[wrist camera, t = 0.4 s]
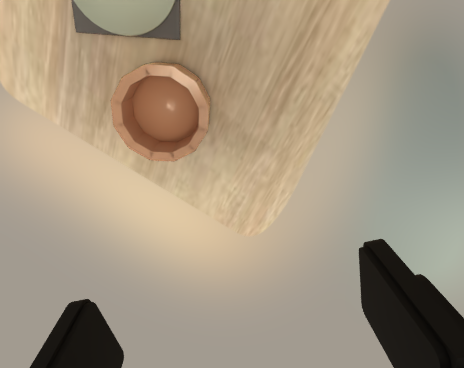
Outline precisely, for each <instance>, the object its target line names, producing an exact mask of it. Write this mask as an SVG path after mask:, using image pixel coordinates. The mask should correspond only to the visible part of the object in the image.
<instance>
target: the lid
mask: <svg viewBox="0 0 464 368" xmlns="http://www.w3.org/2000/svg"><path fill="white" fill-rule="evenodd" d="M74 2H75V3H76V5H77V6H78V8H79V9H80V10H81V11H82V12H83V14H84V15H85V16H86V17H88V18H89V19H90V20H91V21H92V22H93V23H95V24H96V25H97V26H99V27H101V28H103V29H104V30H107V31H109V32H112V33H115V34H119V35H125V36H138V35H143V34H146V33H149V32H151V31H153V30H155V29H156V28H158V27H159V26H160V25H161V24H162V23H163V22H164V21H165V20H166V19H167V18H168V16H169V15H170V13H171V11H172V9H173V7H174V5H175V2H176V0H74Z"/></svg>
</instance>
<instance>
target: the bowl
mask: <svg viewBox="0 0 464 368" xmlns="http://www.w3.org/2000/svg"><path fill="white" fill-rule="evenodd" d="M198 78H199V77H197V76H196V75H194V74H193V73H191V72H190V71H188V70H187V69H186V68H184V67H183V66H181V65H180V64H171V63H149V64H144V65H142V66H141V67H139V68H137V69H135V70H134V71H132V72H130V73H128V74H127V75H125V76H123V77H122V78H121V80H120V82H119V84H118V86H117V89H116V91H115V93H114V95H113V97H112V99H111V107H112V116H113V125H114V127H115V129H116V130H117V132H118V133H119V135H120V136H121V138H122V139H123V141H124V142H125V144H126V145H127V147H129V148H130V149H131V150H133V151H135V152H137V153H139V154H140V155H142V156H144V157H146V158H147V159H149V160H150V159H151V160H158V161H176V160H178V159H180V158H182V157H184V156H186V155H188V154H190V153H192V152H194V151H195V150H196V149H197V147H198V146H199V144H200V142H201V141H202V139H203V138H204V136H205V135H206V133H207V131H208V126H209V115H210V98H209V96H208V94H207V92H206V90H205V88H204V86H203V84H202V82H201V80H200V78H199V79H198Z"/></svg>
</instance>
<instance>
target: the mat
mask: <svg viewBox="0 0 464 368" xmlns="http://www.w3.org/2000/svg"><path fill="white" fill-rule="evenodd" d="M72 7H73V14H74V21H75V28H76V32H79V33H93V34H107V35H119V34H115V33H112V32H109V31H107V30H104V29H103V28H101V27H99V26H97V25H96V24H95V23H93V22H92V21H91V20H90V19H89V18H88V17H86V16H85V15H84V14H83V12H82V11H81V10H80V9H79V8H78V6H77V5H76V3H75V2H74V0H72ZM121 36H125V35H121ZM134 37H148V38H162V39H176V40H180V0H176V2H175V5H174V7H173V9H172V11H171V13H170V15H169V16H168V18H167V19H166V20H165V21H164V22H163V23H162V24H161V25H160V26H159V27H158V28H156V29H155V30H153V31H151V32H149V33H146V34H143V35H138V36H134Z"/></svg>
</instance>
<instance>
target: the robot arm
mask: <svg viewBox="0 0 464 368" xmlns="http://www.w3.org/2000/svg"><path fill="white" fill-rule="evenodd" d="M359 264H360V282H361V303H362V308H363V312H364V314H365V316H366V318H367V320H368V322H369V323H370V325H371V327H372V329H373V331H374V333H375V334H376V336H377V338H378V340H379V342H380V344H381V345H382V347H383V349H384V351H385V352H386V354H387V356H388V358H389V360H390V362H391V363H392V365H393V367H394V368H464V318H463V317H462V316H461V315H460V314H459V313H458V311H457V310H456V309H455V308H454V307H453V306H452V305H451V304H450V303H449V302H448V301H447V300H446V298H445V297H444V296H443V295H442V294H441V293H440V292H439V291H438V290H437V289H436V288H435V286H434V285H433V284H432V283H431V282H430V281H429V280H428V279H427V278H426V277H425V276H423V275H421V274H419V275H414V274H413V273H412V271H411V270H410V269H409V268H408V267H407V266H406V264H405V263H404V262H403V261H402V260H401V259H400V258H399V256H398V255H397V254H396V253H395V252H394V251H393V250H392V248H391V247H390V246H389V245H388V244H387V243H386V242H385V241H384V240H383V239H378V240H373V241H368V242H365V243H364V245H363V247H361V248H359ZM123 360H124V354H123V350H122V348H121V346H120V345H119V343H118V341H117V340H116V338H115V336H114V334H113V333H112V331H111V329H110V328H109V326H108V324H107V323H106V321H105V319H104V317H103V316H102V314H101V312H100V311H99V309H98V307H97V305H96V304H95V303H94V302H91V301H90V300H89V299H85V300H79V301H74V302H71V303H69V304H68V305H67V307H66V309H65V310H64V312H63V313H62V315H61V317H60V318H59V320H58V322H57V323H56V325H55V327H54V328H53V330H52V332H51V333H50V335H49V337H48V338H47V340H46V342H45V343H44V345H43V347H42V348H41V350H40V352H39V353H38V355H37V357H36V358H35V360H34V361H33V363H32V365H31V366H30V368H121V367H122V364H123Z"/></svg>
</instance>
